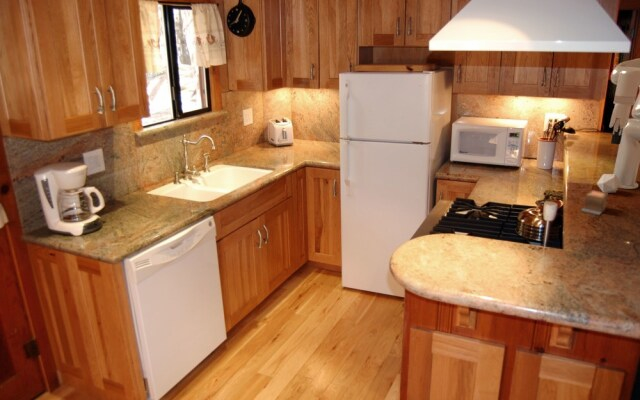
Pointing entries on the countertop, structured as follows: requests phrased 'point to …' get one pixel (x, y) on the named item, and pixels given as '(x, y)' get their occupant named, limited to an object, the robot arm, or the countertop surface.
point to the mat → (593, 211)
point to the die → (609, 183)
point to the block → (595, 200)
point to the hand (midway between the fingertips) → (615, 143)
